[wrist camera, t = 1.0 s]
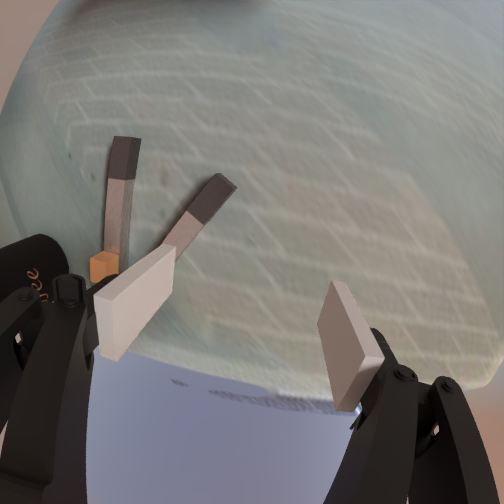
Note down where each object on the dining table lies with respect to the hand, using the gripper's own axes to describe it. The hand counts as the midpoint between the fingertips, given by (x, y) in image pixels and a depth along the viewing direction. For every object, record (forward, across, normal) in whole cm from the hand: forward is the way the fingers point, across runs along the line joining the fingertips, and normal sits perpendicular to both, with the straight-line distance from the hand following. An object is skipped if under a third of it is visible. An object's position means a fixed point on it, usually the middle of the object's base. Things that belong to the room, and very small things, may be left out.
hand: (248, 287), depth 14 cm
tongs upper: (+17, -9, -4) cm, 20 cm away
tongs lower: (+17, -16, -3) cm, 24 cm away
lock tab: (+15, -18, -8) cm, 24 cm away
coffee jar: (+18, -32, -12) cm, 39 cm away
